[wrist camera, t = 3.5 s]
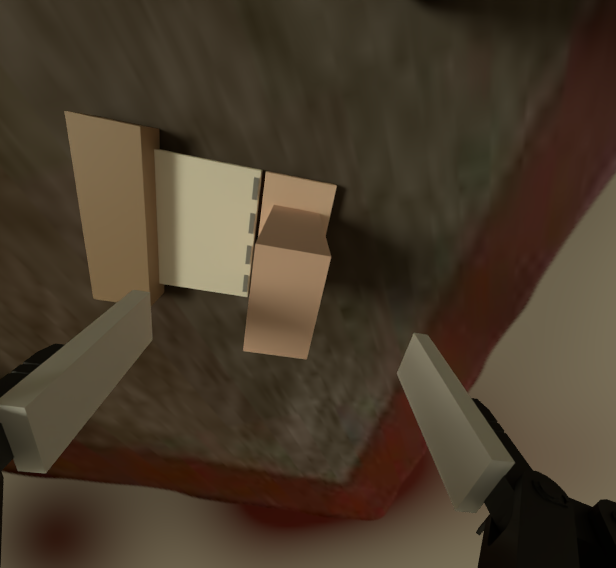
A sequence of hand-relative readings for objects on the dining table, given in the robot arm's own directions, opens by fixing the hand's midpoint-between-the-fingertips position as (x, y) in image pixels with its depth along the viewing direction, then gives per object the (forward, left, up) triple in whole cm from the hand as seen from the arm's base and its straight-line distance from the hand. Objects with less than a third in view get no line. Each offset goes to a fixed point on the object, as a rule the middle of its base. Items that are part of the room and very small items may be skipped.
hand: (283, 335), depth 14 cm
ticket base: (-11, 0, -14) cm, 18 cm away
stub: (0, 0, -14) cm, 14 cm away
